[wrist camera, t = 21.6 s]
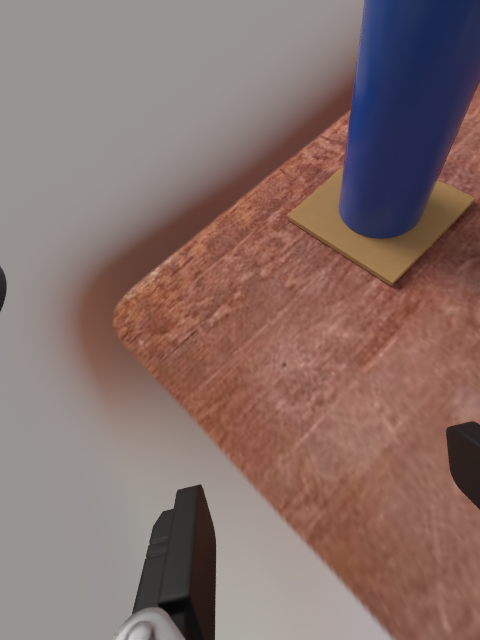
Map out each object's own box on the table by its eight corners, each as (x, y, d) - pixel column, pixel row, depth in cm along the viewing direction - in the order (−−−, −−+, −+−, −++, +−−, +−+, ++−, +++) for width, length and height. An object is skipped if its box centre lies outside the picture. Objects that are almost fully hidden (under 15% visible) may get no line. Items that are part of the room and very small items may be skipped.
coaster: (391, 286, 20) (392, 283, 20) (286, 219, 24) (286, 215, 23) (473, 202, 22) (476, 197, 22) (364, 151, 26) (365, 146, 25)
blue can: (389, 252, 21) (482, -8, 10) (322, 212, 23) (339, -35, 12) (439, 201, 22) (573, -83, 11) (371, 168, 24) (427, -95, 13)
